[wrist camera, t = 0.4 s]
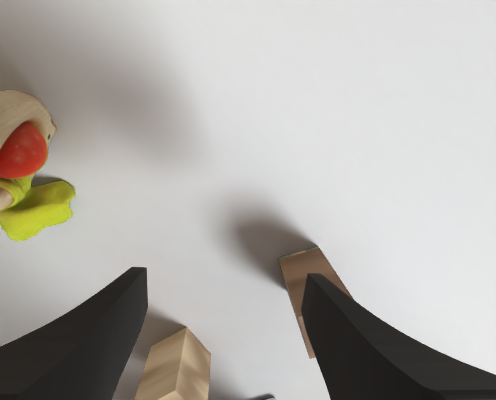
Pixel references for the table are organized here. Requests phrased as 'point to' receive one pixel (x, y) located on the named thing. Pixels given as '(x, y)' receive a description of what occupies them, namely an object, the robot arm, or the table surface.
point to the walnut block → (295, 281)
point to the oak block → (176, 369)
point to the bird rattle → (27, 168)
